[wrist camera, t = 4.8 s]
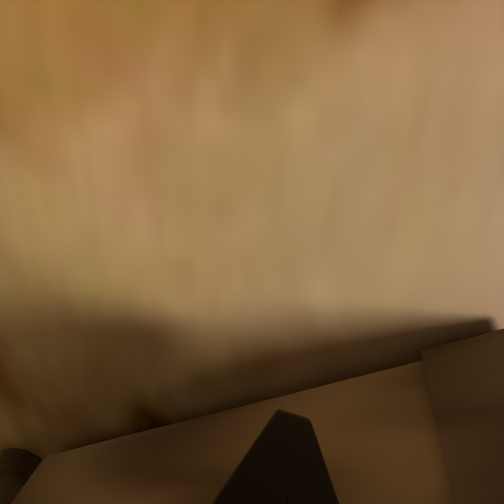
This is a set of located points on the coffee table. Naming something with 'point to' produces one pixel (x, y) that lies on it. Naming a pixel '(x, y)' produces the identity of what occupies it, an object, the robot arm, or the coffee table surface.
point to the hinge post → (15, 472)
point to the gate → (320, 440)
